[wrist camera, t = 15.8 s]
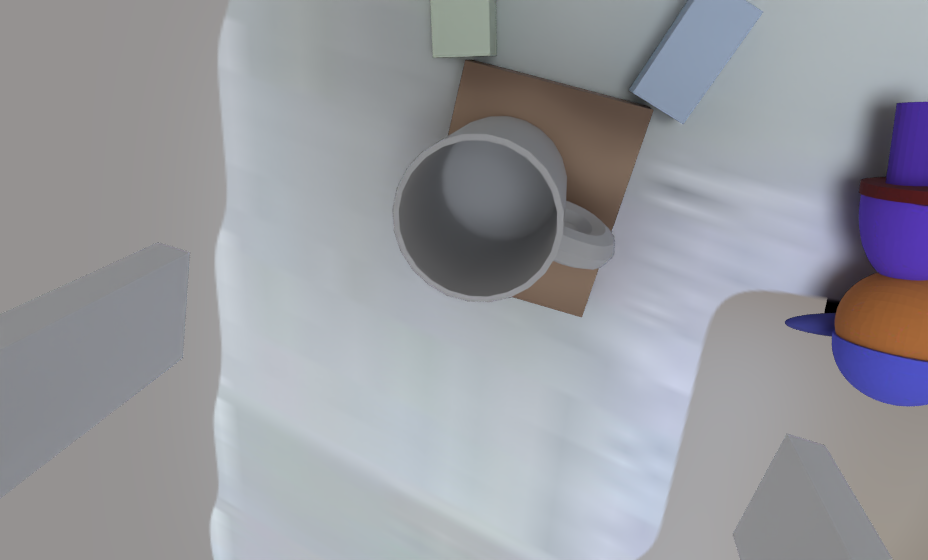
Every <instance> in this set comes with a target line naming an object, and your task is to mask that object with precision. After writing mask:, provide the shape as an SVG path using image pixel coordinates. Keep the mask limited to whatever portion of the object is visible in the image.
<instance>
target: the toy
mask: <svg viewBox="0 0 928 560" xmlns="http://www.w3.org/2000/svg"><path fill="white" fill-rule="evenodd" d="M859 193H860V194H861V198H860V207H859V229H860V236H861V241H862V245H863V248H864V251H865V253H866V256H867V258H868V260H869V261H870V263H871V264H872V266H873V267H874V268H875V270H876V271H877V272H878V273H875V274H872V275H870V276H868V277H866V278H864V279H862V280H860V281H859V282H857V283H856V284H855V285H853V286H852V287H851V288H850V289H849V290H848V291H847V292H846V293H845V295H844V296H843V298H842V299H841V301H838V300H832V299H827V302H826V307H825V311H824V313H821V314H810V315H802V316H797V317H793V318H790V319H787V320H786V321H785V324H786V325H787V326H789V327H791V328H793V329H796V330H800V331H804V332H808V333H813V334H818V335H825V336H832V351H833V355H834V358H835V362H836V364H837V366H838V368H839V370H840V371H841V373H842V374H843V376H844V377H845V378H846V379H847V381H848V382H849V383H850V384H851V385H853V386H854V387H855V388H856V389H858V390H859V391H860V392H862V393H863V394H865V395H867V396H869V397H871V398H873V399H875V400H878V401H881V402H883V403H887V404H892V405H897V406H921V405H927V404H928V102H908V103H897V105H896V112H895V120H894V127H893V134H892V141H891V148H890V155H889V162H888V169H887V176H886V177H874V178H865V179H862V180H861V182H860V188H859Z"/></svg>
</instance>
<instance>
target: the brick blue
mask: <svg viewBox="0 0 928 560" xmlns="http://www.w3.org/2000/svg"><path fill="white" fill-rule="evenodd" d="M762 13H763V11H761V10H760V9H758V8H757V7H755V6H754V5H752V4H750V3H749V2H747V1H746V0H688V1H687V3H686V4H685V6H684V7H683V9H682V10H681V12H680V13H679V15H678V16H677V18H676V19H675V21H674V22H673V24H672V25H671V27H670V28H669V30H668V31H667V33H666V34H665V36H664V37H663V39H662V40H661V42H660V43H659V45H658V46H657V48H656V49H655V51H654V53H653V54H652V56H651V57H650V59H649V60H648V62H647V63H646V65H645V66H644V68H643V69H642V71H641V72H640V74H639V75H638V77H637V78H636V80H635V81H634V83H633V84H632V86H631V87H630V89H629V91H631V92H632V93H634V94H636V95H637V96H639V97H640V98H642V99H644V100H645V101H647V102H648V103H650V104H651V105H653V106H655V107H656V108H658V109H659V110H661V111H663V112H664V113H666V114H667V115H669V116H670V117H672V118H674V119H675V120H677V121H678V122H680V123H682V124H684V122H685V121H686V120H687V118H688V117H689V115H690V114H691V113H692V111H693V110H694V108H695V107H696V106H697V104H698V103H699V101H700V100H701V99H702V97H703V96H704V94H705V93H706V92H707V90H708V89H709V87H710V86H711V85H712V83H713V82H714V80H715V79H716V78H717V76H718V75H719V73H720V72H721V71H722V69H723V68H724V66H725V65H726V64H727V62H728V61H729V59H730V58H731V57H732V55H733V54H734V52H735V51H736V50H737V48H738V47H739V45H740V44H741V43H742V41H743V40H744V38H745V37H746V36H747V34H748V33H749V31H750V30H751V29H752V27H753V26H754V24H755V23H756V22H757V20H758V19H759V17H760V16H761V15H762Z"/></svg>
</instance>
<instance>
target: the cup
mask: <svg viewBox="0 0 928 560" xmlns="http://www.w3.org/2000/svg"><path fill="white" fill-rule="evenodd" d="M566 190H567V175H566V171H565V167H564V163H563V159H562V157H561V155H560V153H559V151H558V149H557V148H556V146H555V144H554V142H553V141H552V140H551V139H550V138H549V137H548V136H547V135H546V134H545V133H544V132H543V131H542V130H541V129H539V128H538V127H536V126H534V125H532V124H531V123H529V122H527V121H525V120H522V119H518V118H514V117H510V116H490V117H486V118H483V119H479V120H476V121H473V122H470V123H469V124H467V125H465V126H464V127H462V128H460V129H459V130H457V131H455V132H454V133H452V134H450V135H449V136H447V137H446V138H444V139H442V140H441V141H439V142H437V143H436V144H434V145H433V146H431V147H429V148H428V149H426V150H425V151H423V152H421V153H420V155H419V156H418V157H417V158H416V159H415V160H414V161H413V162H412V163H411V165H410V166H409V167H408V168H407V169H406V171H405V173H404V175H403V177H402V179H401V181H400V183H399V185H398V187H397V190H396V195H395V200H394V205H393V222H394V232H395V235H396V238H397V241H398V244H399V247H400V250H401V253H402V254H403V256H404V257H405V259H406V260H407V262H408V263H409V265H410V267H411V268H412V270H413V271H414V272H415V273H416V274H417V275H419V276H420V277H421V278H422V279H423V280H424V281H425V282H426V283H427V284H428V285H430V286H431V287H433V288H435V289H437V290H438V291H440V292H442V293H444V294H445V295H447V296H451V297H454V298H458V299H461V300H465V301H472V302H492V301H496V300H501V299H506V298H510V297H512V296H514V295H516V294H518V293H520V292H522V291H524V290H526V289H528V288H529V287H531V286H532V285H533V284H534V283H535V282H536V281H537V280H538V279H539V278H541V277H542V276H543V275H544V274H545V273H546V271H547V270H548V268H549V266H550V265H551V263H552V262H553V261H555V262H557V263H560V264H562V265H566V266H569V267H573V268H582V269H592V270H594V269H597V268H601V267H602V266H603V265H604V264H606V263H607V262H608V261H609V260H610V259H611V258H612V257H613V255H614V246H615V240H614V235H613V234H612V232H611V231H610V229H609V228H608V227H607V226H606V225H605V224H604V223H603V222H602V221H601V220H600V219H598V218H597V217H596V216H595V215H594V214H592V213H591V212H589V211H587V210H586V209H584V208H582V207H580V206H578V205H576V204H573V203H571V202H569V201H566Z"/></svg>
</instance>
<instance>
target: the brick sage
mask: <svg viewBox="0 0 928 560" xmlns="http://www.w3.org/2000/svg"><path fill="white" fill-rule="evenodd" d="M430 7H431V29H432V51H433V58H448V57H476V56H497V39H496V0H430Z"/></svg>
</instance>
